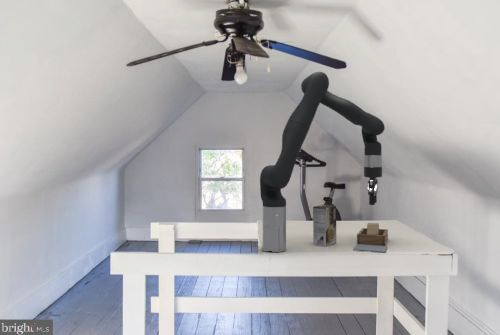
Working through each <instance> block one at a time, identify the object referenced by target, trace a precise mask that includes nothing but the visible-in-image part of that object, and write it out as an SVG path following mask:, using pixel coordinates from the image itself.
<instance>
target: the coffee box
mask: <svg viewBox="0 0 500 335" xmlns="http://www.w3.org/2000/svg"><path fill="white" fill-rule="evenodd" d="M312 208H313V209H312V213H313V215H312V219H313V220H312V222H313V225H312V226H313V228H312V230H313V234H312V235H313V237H312V238H313V239H312V240H313V242H312V243H313V246H318V247H329V246H331V245H335V244H337V206H336V205H332V204H320V205H315V206H313V207H312Z"/></svg>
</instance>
